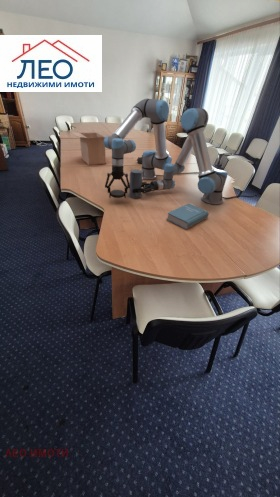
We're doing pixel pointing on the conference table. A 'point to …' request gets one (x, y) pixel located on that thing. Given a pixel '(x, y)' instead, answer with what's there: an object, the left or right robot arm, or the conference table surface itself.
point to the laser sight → (140, 159)
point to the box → (92, 146)
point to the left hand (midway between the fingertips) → (117, 197)
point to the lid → (117, 193)
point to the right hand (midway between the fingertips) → (129, 188)
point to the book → (187, 216)
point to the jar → (135, 182)
